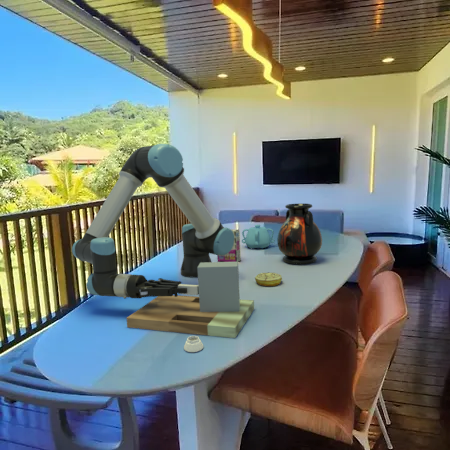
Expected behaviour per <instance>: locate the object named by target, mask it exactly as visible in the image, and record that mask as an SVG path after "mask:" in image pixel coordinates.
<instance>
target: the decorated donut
mask: <svg viewBox="0 0 450 450" xmlns="http://www.w3.org/2000/svg"><path fill="white" fill-rule="evenodd" d="M254 278H255V282H256V284H258V285H260V286H263V287H276V286H278V285H280V284H281V282H282V280H283V278H282V275H281V274H280V273H276V272H261V273H258V274H257V275H256V276H255V277H254Z"/></svg>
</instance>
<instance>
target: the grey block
mask: <svg viewBox="0 0 450 450" xmlns="http://www.w3.org/2000/svg"><path fill="white" fill-rule="evenodd" d="M197 269H198V277H197V282H198V283H197V285H198V286H199V294H198V297H199V304H200V312H232V311H239V308H240V298H241V297H240V277H239V275H240V274H239V262H218V261H217V262H216V261H214V262H213V261H212V262H204V263H200V264H199V266H198V267H197Z"/></svg>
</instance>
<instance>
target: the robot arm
mask: <svg viewBox="0 0 450 450" xmlns="http://www.w3.org/2000/svg"><path fill="white" fill-rule="evenodd" d="M183 161H184V158H183V155H182V153H181V152H180V150H179V149H178V148H177V147H175V146H174V145H172V144H169V143H158V144H155V145H153V144H152V145H147V146H141V147H139V148H137V149H136V150H135V151H133V152H132V154H131V155H130V156H129V157H128V158H127V160H126V161H125V163H124V164H123V165H122V167H121V169H120V171H119V172H118V175H119V177H118V179H117V181H116V182H115V184H114V186H113V187H112V189H111V191H110V192H109V194H108V196H107V197H106V199H105V201H104V202H103V204H102V205H101V207H100V209H99V210H98V212H97V214H96V215H95V217H94V218H93V221H92V222H91V224H90V225H89V227H88V229H87V230H86V231H85V234H84V235H83V236H82V238H81V239H78V240H76V241H74V243H73V245H72V247H71V252H72V255H73V256H74V257H75V258H76V259H77V260H79V261H80V262H85V263H89V264H91V265H92V273H91V274H90V275H89V276H88V277H87V282H86V285H85V286H86V289H87V291H88V293H89V294H91V295H92V296H93V295H94V296H100V297H117V298H123V299H127V298H131V299H142V298H147V297H155V298H156V297H158V296H173V295H175V297H177V296H178V295H186V296H199V286H198V284H186V283H185V284H182V282H181V281H180V280H179V281H178V280H177V281H176V280H172V279H165V278H162V277H159V278H158V279H157V280H155V279H147V278H146V276H144V274H131V273H129V274H128V273H118V269H117V259H116V256H117V255H116V246H115V241H114V239H113V238H112V237H109V236H110V235H111V233H112V231H113V230H114V227H115V226H116V224H117V222H118V221H119V219H120V217H121V216H122V214H123V212H124V211H125V209H126V208H127V206H128V204H129V202H130V200H131V198H132V197H133V195H135V192H136V191H137V189H138V188H140V187H142V186H143V184H144V182H145V181H146V180H147V179H149V178H152V180H153V181H154V182H155V184H156V185H157V186H158V188H164V189H165V190H166V192H167V193H168V194H169V195H170V197H171V198H172V200H173V201H174V202H175V204H176V205H177V206H178V208H179V210H180V211H181V213H183V214H184V217H186V219H187V220H188V222H189V223H186V224H183V226H182V227H181V238H182V249H183V259H182V263H181V267H180V274H181V276H182V277H188V278H198V269H197V267H198V266H199V264H200V263H204V262H213V261H212V259H211V256H210V254H211V255H216V256H217V255H226V254H227V253H229V252H230V251H231V249H232V247H233V244H234V234H233V232H232V230H231V229H232V228H229V227H226V226H225V227H224V226H223V224H222V223H221V221H220V220H219V219H218V218H215V217H213V216H212V215H211V213H210V211H208V209H207V207H206V206H205V204H204V203H203V201H202V200H201V199H200V197H199V195H198V194H197V192H196V191H195V190H194V189H193V187H192V186H191V184H190V182H189V181H188V179H187V178H186V177H185V175H184V173H185V167H184V163H183Z"/></svg>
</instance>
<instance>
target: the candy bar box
mask: <svg viewBox="0 0 450 450" xmlns="http://www.w3.org/2000/svg"><path fill="white" fill-rule="evenodd" d="M230 229H231V230H232V232H233V234H234V244H233V247H232V249H231V251H230V252H229V253H227V254H226V255H216V256H217V262H238V263H239V262H240V263H241V245H240V244H241V240H240V239H241V238H240V229H232V228H230Z"/></svg>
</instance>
